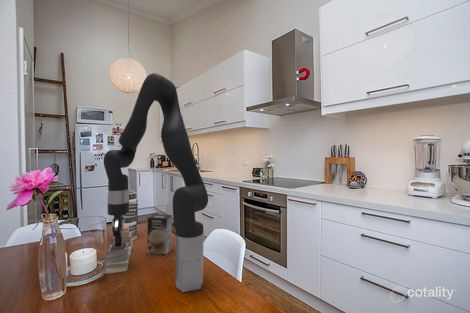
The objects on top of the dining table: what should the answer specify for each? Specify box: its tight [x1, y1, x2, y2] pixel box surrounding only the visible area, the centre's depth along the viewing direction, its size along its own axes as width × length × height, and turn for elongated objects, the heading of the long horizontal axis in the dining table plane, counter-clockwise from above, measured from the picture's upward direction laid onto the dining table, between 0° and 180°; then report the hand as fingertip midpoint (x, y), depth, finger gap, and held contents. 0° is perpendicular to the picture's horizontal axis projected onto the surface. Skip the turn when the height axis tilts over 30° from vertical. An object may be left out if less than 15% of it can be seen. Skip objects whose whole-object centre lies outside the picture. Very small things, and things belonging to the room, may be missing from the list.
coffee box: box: [146, 213, 173, 256], centre depth 104 cm, size 9×6×16 cm
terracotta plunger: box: [122, 225, 129, 237], centre depth 103 cm, size 4×4×5 cm
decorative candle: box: [123, 188, 139, 241], centre depth 120 cm, size 9×9×25 cm
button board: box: [105, 232, 133, 275], centre depth 97 cm, size 24×7×8 cm, turn 19°
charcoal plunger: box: [111, 243, 125, 250], centre depth 90 cm, size 4×4×5 cm
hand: (118, 245), depth 90 cm, fingers closed
